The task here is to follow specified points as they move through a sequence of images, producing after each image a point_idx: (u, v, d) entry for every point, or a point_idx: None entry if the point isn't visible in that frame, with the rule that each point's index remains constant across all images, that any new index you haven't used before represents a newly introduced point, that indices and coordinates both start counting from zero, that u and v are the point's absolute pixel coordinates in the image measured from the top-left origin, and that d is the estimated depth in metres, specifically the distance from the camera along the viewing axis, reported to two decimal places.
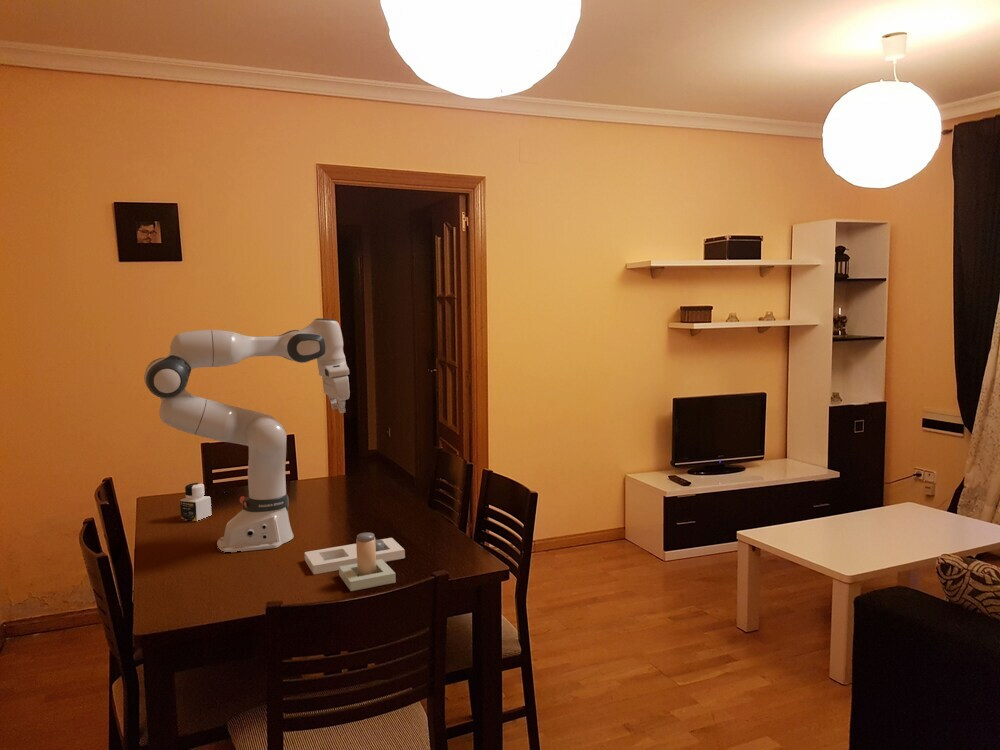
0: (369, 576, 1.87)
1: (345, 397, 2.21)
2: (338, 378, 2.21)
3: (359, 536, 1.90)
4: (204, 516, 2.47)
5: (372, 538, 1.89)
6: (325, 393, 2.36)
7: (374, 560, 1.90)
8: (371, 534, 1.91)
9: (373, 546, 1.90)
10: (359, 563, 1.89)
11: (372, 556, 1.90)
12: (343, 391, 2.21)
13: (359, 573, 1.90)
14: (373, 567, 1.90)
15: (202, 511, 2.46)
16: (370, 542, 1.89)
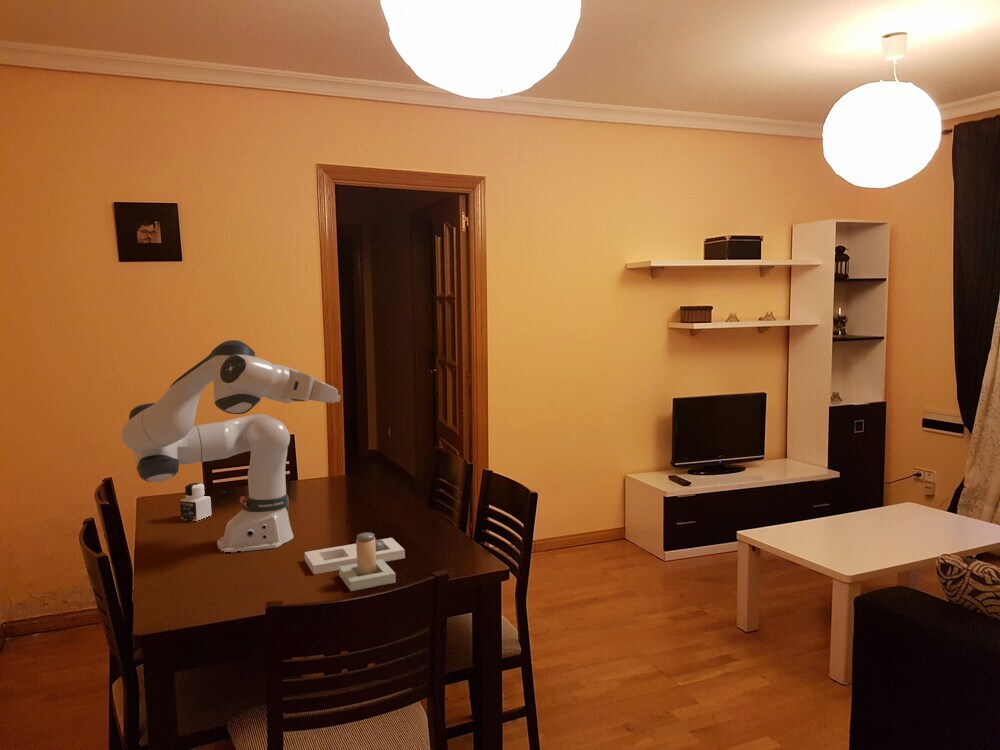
0: (369, 576, 1.87)
1: (336, 394, 1.80)
2: (314, 392, 1.76)
3: (359, 536, 1.90)
4: (204, 516, 2.47)
5: (372, 538, 1.89)
6: None
7: (374, 560, 1.90)
8: (371, 534, 1.91)
9: (373, 546, 1.90)
10: (359, 563, 1.89)
11: (372, 556, 1.89)
12: (330, 393, 1.78)
13: (359, 573, 1.90)
14: (373, 567, 1.90)
15: (202, 511, 2.46)
16: (370, 542, 1.89)
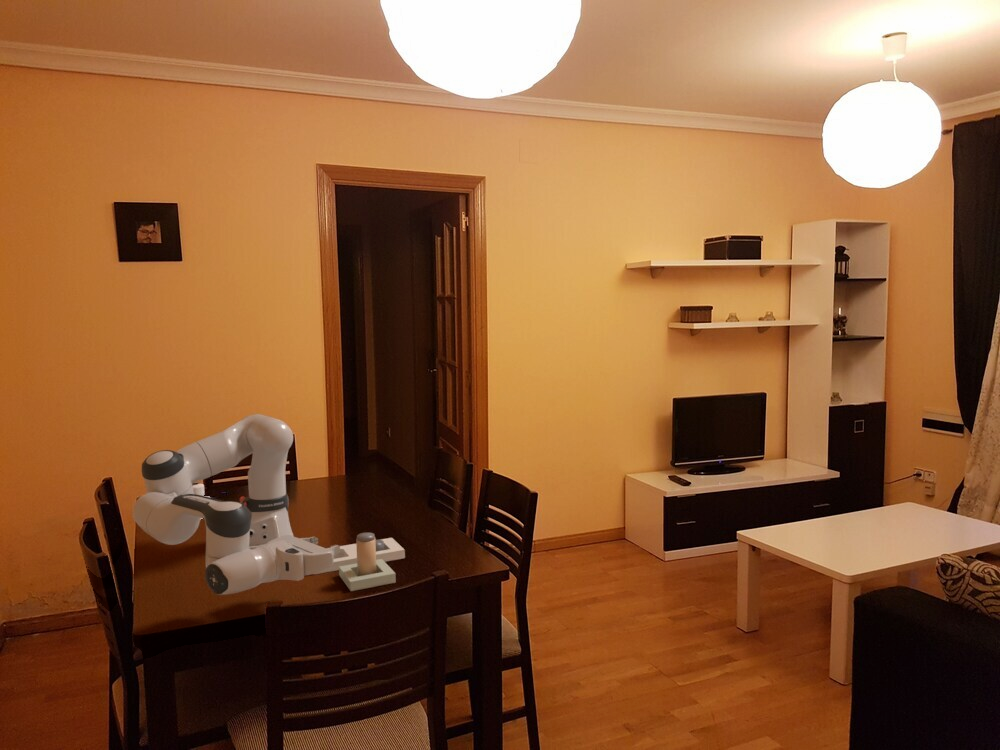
0: (369, 576, 1.87)
1: (332, 557, 1.70)
2: (307, 567, 1.66)
3: (359, 536, 1.90)
4: None
5: (372, 538, 1.89)
6: None
7: (374, 560, 1.90)
8: (371, 534, 1.91)
9: (373, 546, 1.90)
10: (359, 563, 1.89)
11: (372, 556, 1.89)
12: (325, 561, 1.69)
13: (359, 573, 1.90)
14: (373, 567, 1.90)
15: None
16: (370, 542, 1.89)
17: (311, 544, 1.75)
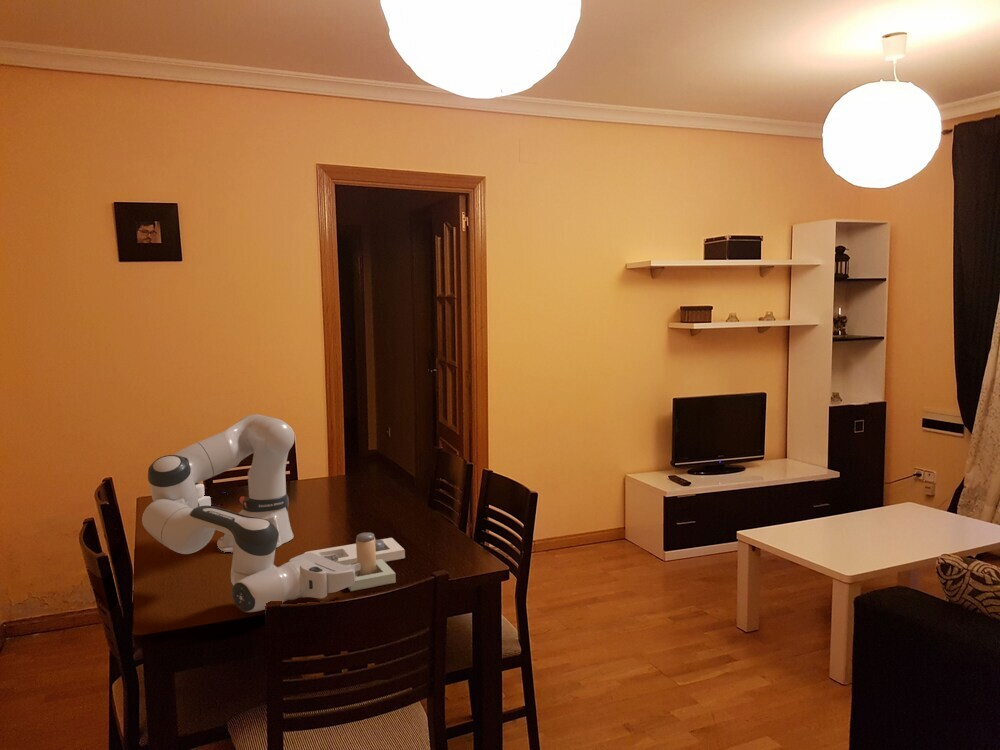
0: (369, 576, 1.87)
1: (353, 575, 1.75)
2: (330, 585, 1.72)
3: (359, 536, 1.90)
4: None
5: (372, 538, 1.89)
6: None
7: (374, 560, 1.90)
8: (371, 534, 1.91)
9: (373, 546, 1.90)
10: (359, 563, 1.89)
11: (372, 556, 1.89)
12: (347, 579, 1.74)
13: (359, 573, 1.90)
14: (373, 567, 1.90)
15: None
16: (370, 542, 1.89)
17: (333, 562, 1.80)
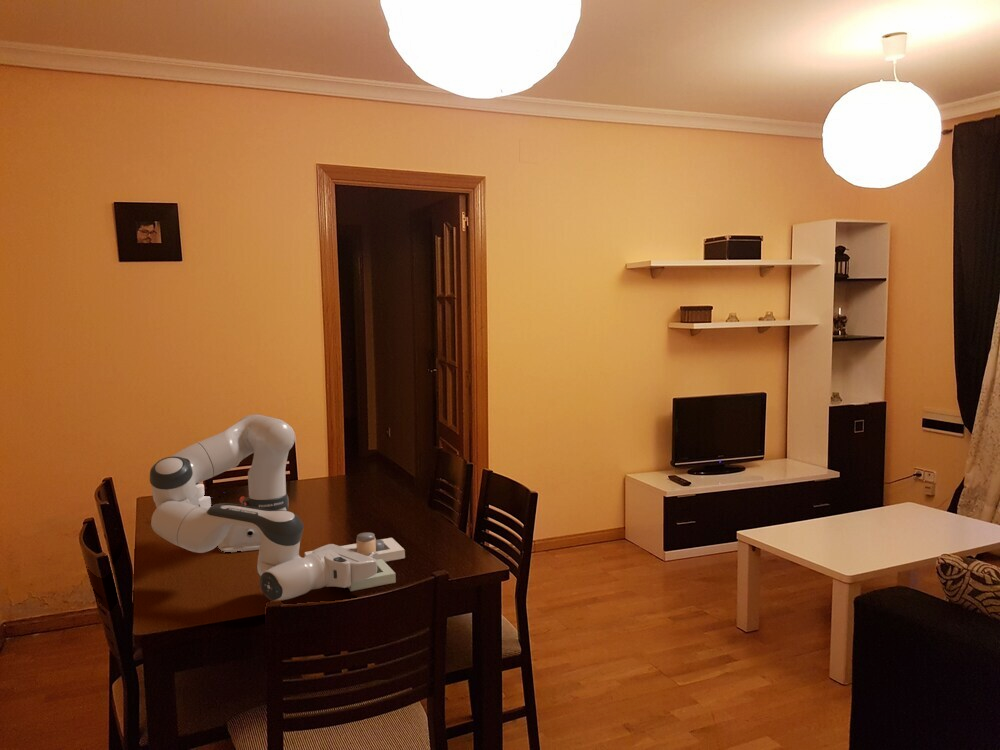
0: None
1: (376, 565, 1.81)
2: (354, 575, 1.77)
3: (359, 536, 1.90)
4: None
5: (372, 538, 1.89)
6: None
7: None
8: (371, 534, 1.91)
9: (373, 546, 1.90)
10: None
11: None
12: (370, 569, 1.80)
13: None
14: None
15: None
16: (370, 542, 1.89)
17: (355, 553, 1.86)
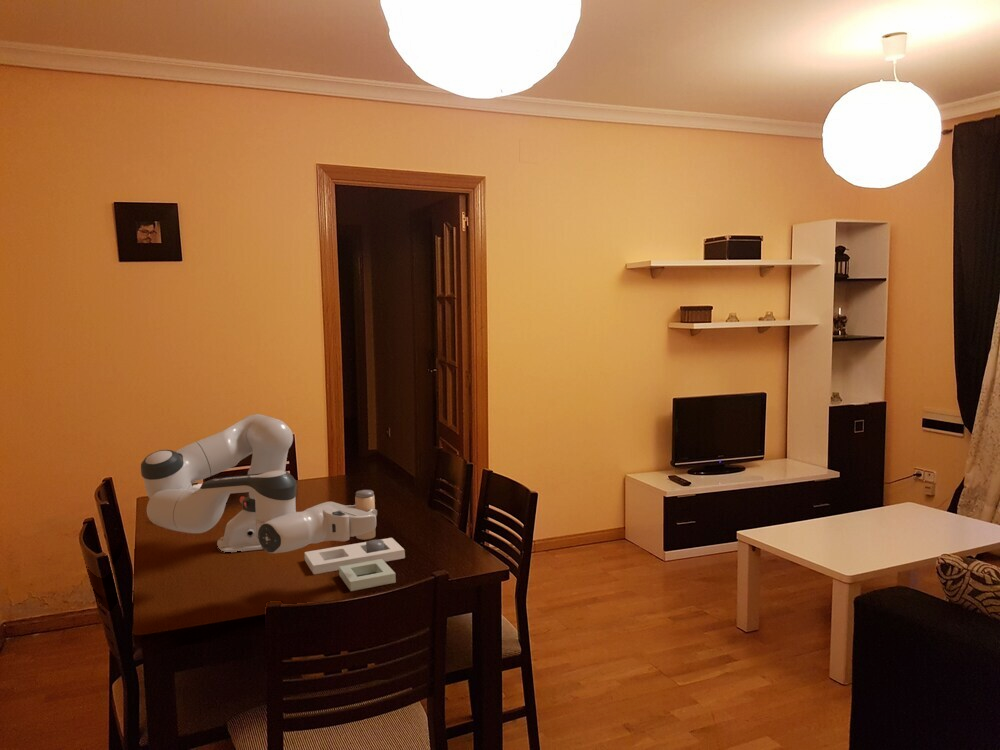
0: (369, 576, 1.87)
1: (375, 520, 1.80)
2: (352, 529, 1.76)
3: (358, 493, 1.89)
4: None
5: (371, 495, 1.88)
6: None
7: None
8: (370, 491, 1.90)
9: (372, 503, 1.89)
10: None
11: None
12: (369, 523, 1.78)
13: None
14: None
15: None
16: (369, 499, 1.88)
17: (354, 509, 1.85)
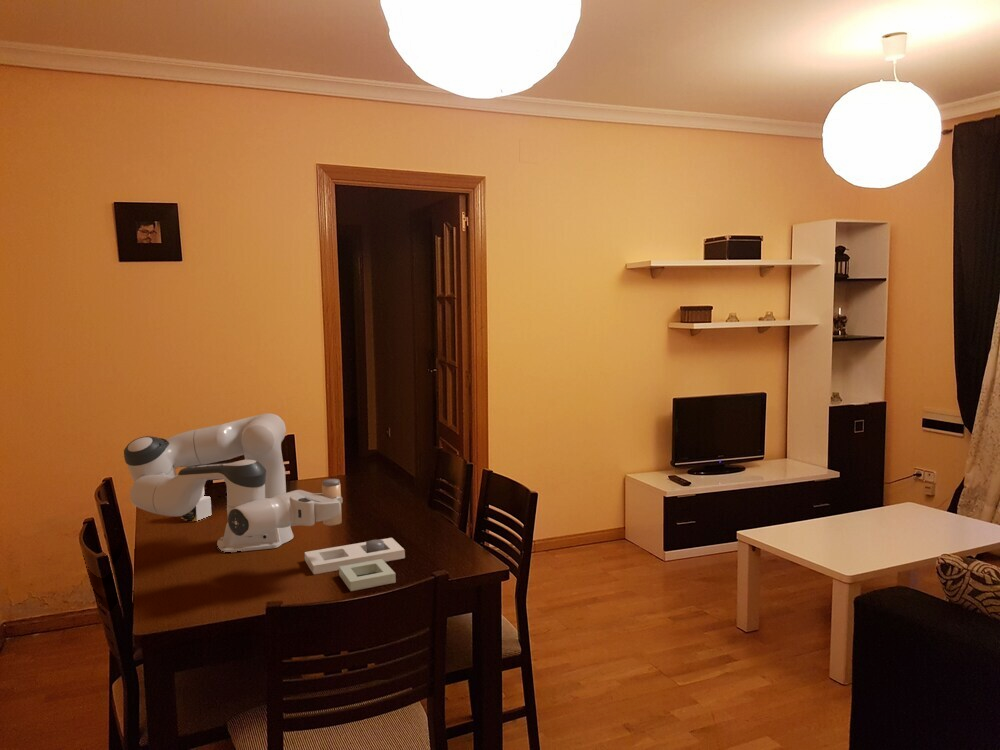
0: (369, 576, 1.87)
1: (339, 506, 1.92)
2: (317, 514, 1.88)
3: (325, 481, 2.00)
4: (204, 516, 2.47)
5: (337, 483, 2.00)
6: None
7: None
8: (337, 480, 2.02)
9: (338, 491, 2.00)
10: None
11: None
12: (333, 509, 1.90)
13: None
14: None
15: (202, 511, 2.46)
16: (335, 487, 2.00)
17: (320, 496, 1.97)
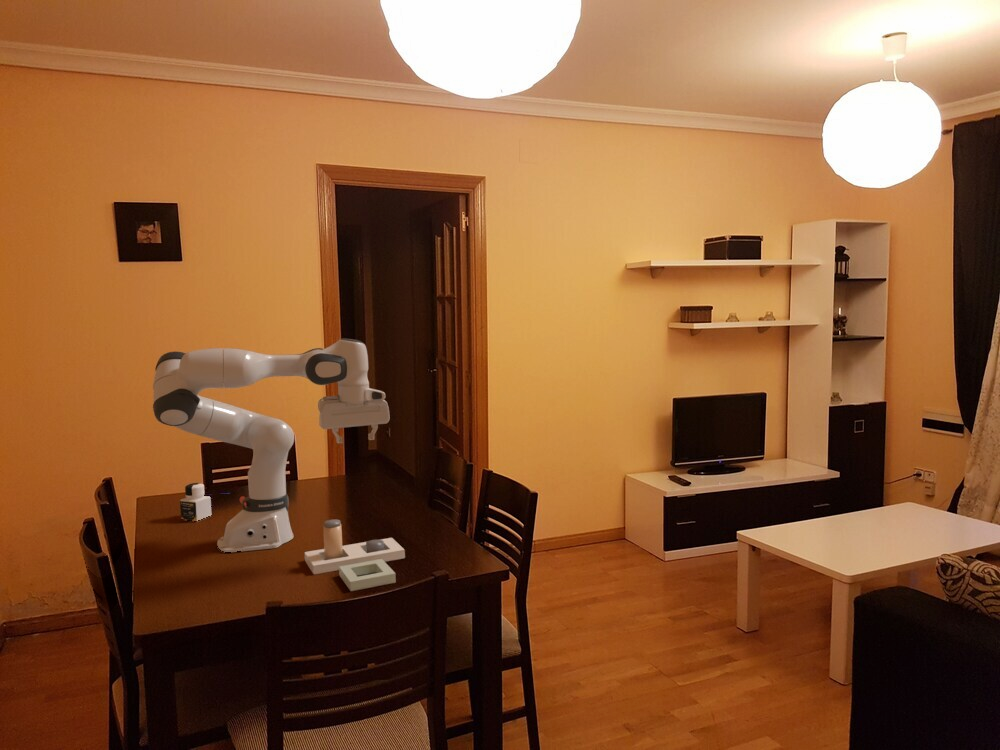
0: (369, 576, 1.87)
1: None
2: None
3: (326, 522, 2.02)
4: (204, 516, 2.47)
5: (338, 524, 2.01)
6: (330, 427, 2.04)
7: (340, 545, 2.02)
8: (338, 521, 2.03)
9: (339, 532, 2.02)
10: (326, 547, 2.01)
11: (338, 541, 2.02)
12: None
13: (326, 557, 2.02)
14: (339, 551, 2.02)
15: (202, 511, 2.46)
16: (336, 528, 2.01)
17: None
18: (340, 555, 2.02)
